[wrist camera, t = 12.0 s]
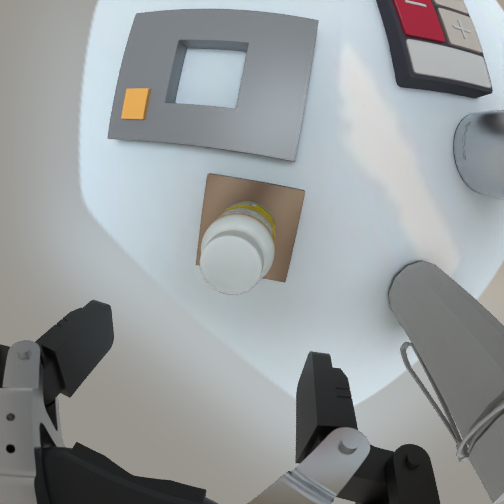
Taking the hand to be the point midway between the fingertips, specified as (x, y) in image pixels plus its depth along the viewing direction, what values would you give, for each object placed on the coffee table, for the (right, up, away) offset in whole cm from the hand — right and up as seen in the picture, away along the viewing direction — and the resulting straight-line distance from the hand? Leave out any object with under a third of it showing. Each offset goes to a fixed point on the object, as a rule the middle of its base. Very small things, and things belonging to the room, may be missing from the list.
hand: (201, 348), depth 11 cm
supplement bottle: (+1, +6, +17) cm, 18 cm away
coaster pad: (+2, +6, +18) cm, 19 cm away
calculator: (+21, +28, +10) cm, 36 cm away
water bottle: (+20, -1, +19) cm, 27 cm away
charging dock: (-2, +20, +14) cm, 24 cm away
